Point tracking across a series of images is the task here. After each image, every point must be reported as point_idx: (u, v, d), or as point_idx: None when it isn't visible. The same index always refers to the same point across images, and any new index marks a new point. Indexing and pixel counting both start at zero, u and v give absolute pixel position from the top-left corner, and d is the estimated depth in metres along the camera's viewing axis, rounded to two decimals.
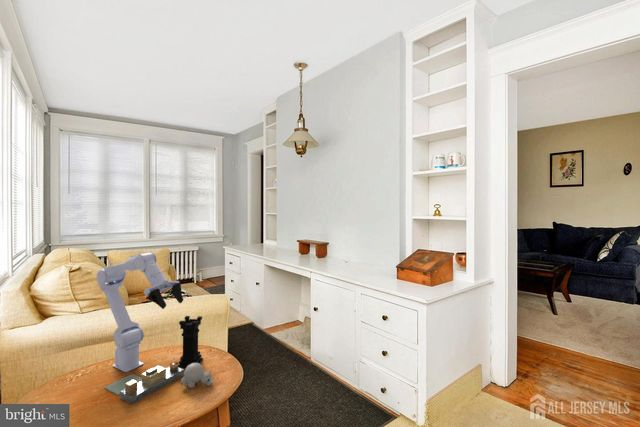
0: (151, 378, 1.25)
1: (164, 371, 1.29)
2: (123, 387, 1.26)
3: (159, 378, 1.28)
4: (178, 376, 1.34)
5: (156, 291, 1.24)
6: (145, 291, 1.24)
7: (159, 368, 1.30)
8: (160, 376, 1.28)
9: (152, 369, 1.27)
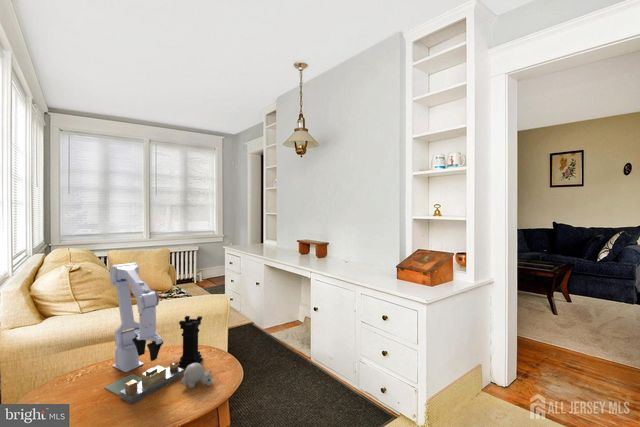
0: (151, 378, 1.25)
1: (164, 371, 1.29)
2: (123, 387, 1.26)
3: (159, 378, 1.28)
4: (178, 376, 1.34)
5: (133, 341, 1.29)
6: None
7: (159, 368, 1.30)
8: (160, 376, 1.28)
9: (152, 369, 1.27)
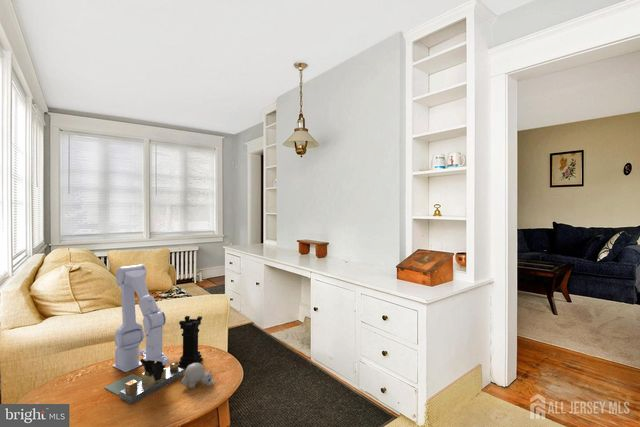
0: (151, 378, 1.25)
1: (164, 371, 1.29)
2: (123, 387, 1.26)
3: None
4: (178, 376, 1.34)
5: (141, 362, 1.27)
6: None
7: None
8: None
9: (152, 369, 1.27)
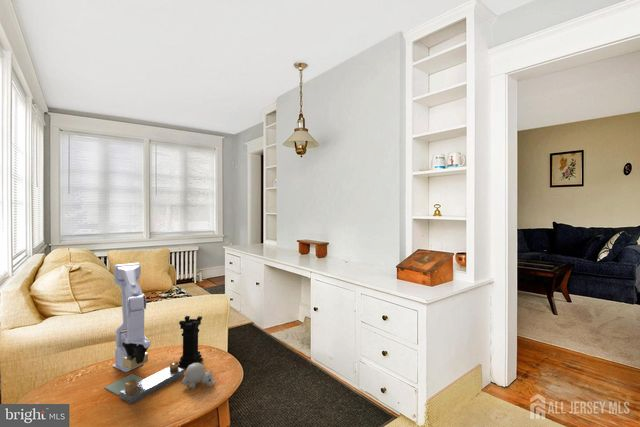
0: (133, 362, 1.25)
1: (146, 355, 1.29)
2: (123, 387, 1.26)
3: None
4: (178, 376, 1.34)
5: (123, 345, 1.27)
6: None
7: None
8: None
9: (134, 353, 1.27)
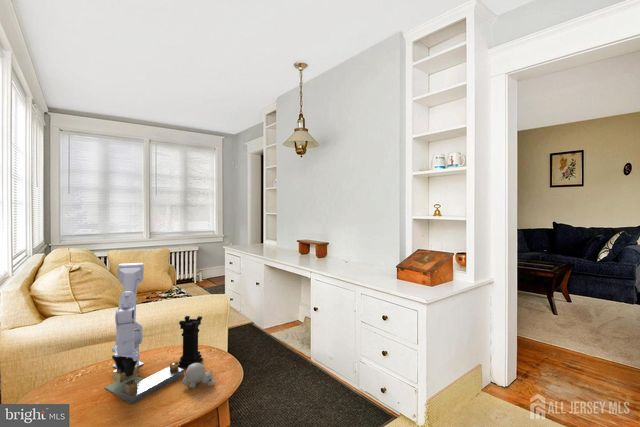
0: (122, 375, 1.25)
1: (136, 368, 1.30)
2: (123, 387, 1.26)
3: (131, 375, 1.28)
4: (178, 376, 1.34)
5: (113, 358, 1.28)
6: None
7: None
8: None
9: (124, 366, 1.27)
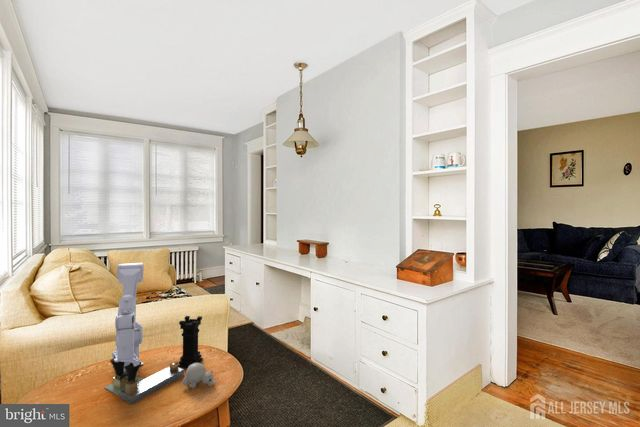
0: (122, 382, 1.25)
1: (136, 375, 1.30)
2: None
3: None
4: (178, 376, 1.34)
5: (111, 362, 1.28)
6: None
7: None
8: None
9: (124, 373, 1.28)
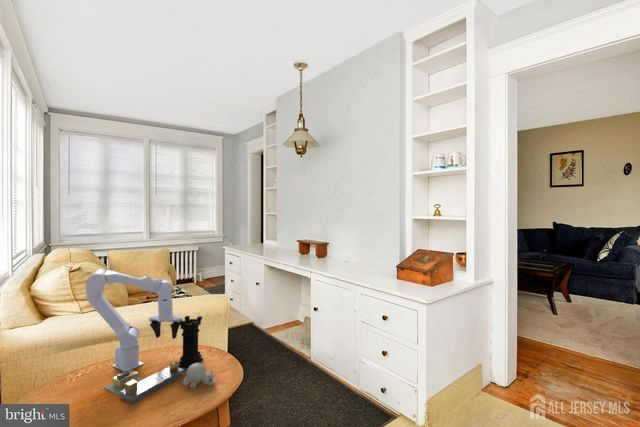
0: (122, 382, 1.25)
1: (136, 375, 1.30)
2: None
3: None
4: (178, 376, 1.34)
5: (151, 326, 1.45)
6: None
7: (131, 372, 1.30)
8: None
9: (124, 373, 1.28)
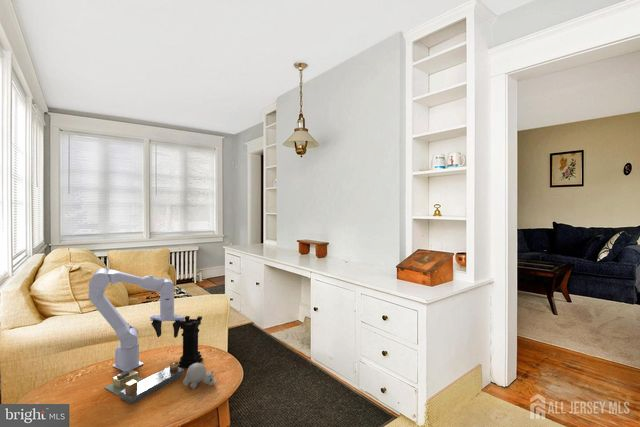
0: (122, 382, 1.25)
1: (136, 375, 1.30)
2: None
3: None
4: (178, 376, 1.34)
5: (153, 325, 1.46)
6: None
7: (131, 372, 1.30)
8: None
9: (124, 373, 1.28)
